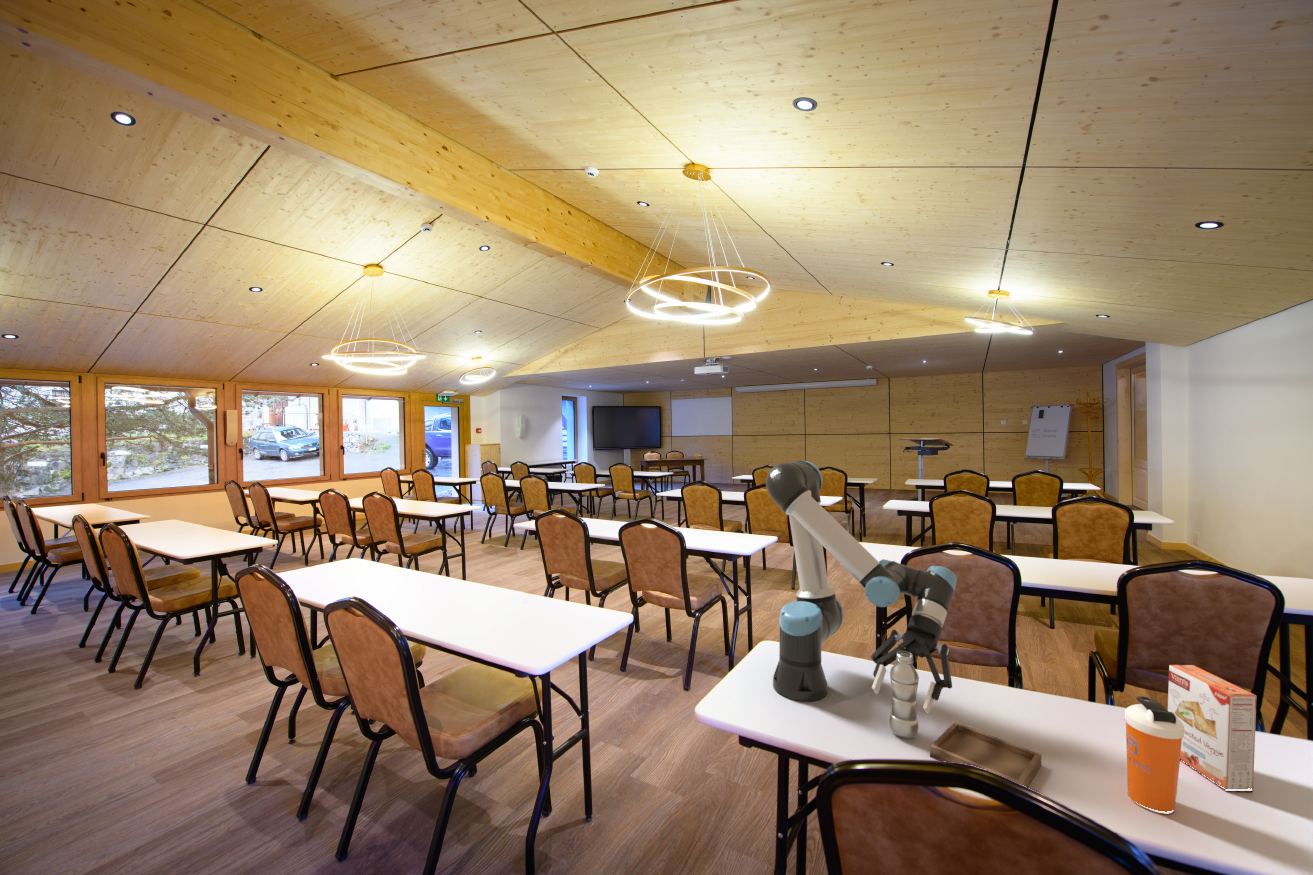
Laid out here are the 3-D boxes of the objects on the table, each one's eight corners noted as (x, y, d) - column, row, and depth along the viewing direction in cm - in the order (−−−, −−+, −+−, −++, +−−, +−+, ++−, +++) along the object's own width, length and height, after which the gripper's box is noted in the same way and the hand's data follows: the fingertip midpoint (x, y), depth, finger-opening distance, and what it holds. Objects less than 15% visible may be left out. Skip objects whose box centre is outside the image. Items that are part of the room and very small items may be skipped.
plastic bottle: (906, 744, 130) (908, 662, 129) (883, 730, 136) (884, 651, 135) (924, 737, 133) (926, 656, 132) (900, 723, 139) (902, 646, 138)
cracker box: (1164, 751, 128) (1167, 663, 127) (1190, 752, 127) (1194, 663, 127) (1224, 792, 114) (1228, 693, 113) (1254, 793, 113) (1258, 694, 113)
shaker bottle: (1156, 788, 115) (1160, 694, 114) (1194, 819, 106) (1198, 718, 105) (1110, 785, 116) (1113, 692, 115) (1144, 816, 107) (1147, 715, 106)
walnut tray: (930, 756, 126) (930, 745, 125) (954, 731, 136) (954, 721, 136) (1021, 796, 112) (1022, 784, 112) (1041, 765, 122) (1041, 754, 122)
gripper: (981, 643, 135) (957, 727, 125) (885, 616, 153) (857, 689, 143) (974, 627, 131) (948, 713, 122) (877, 602, 149) (847, 675, 139)
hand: (899, 700), depth 132 cm, fingers open, 12 cm apart
